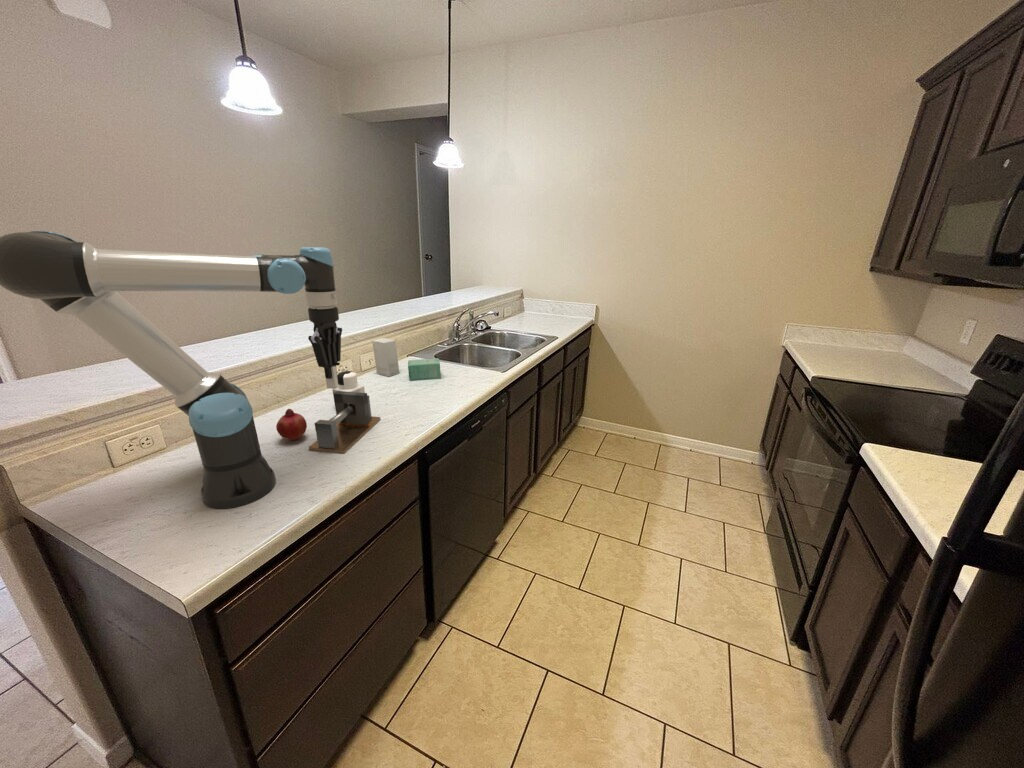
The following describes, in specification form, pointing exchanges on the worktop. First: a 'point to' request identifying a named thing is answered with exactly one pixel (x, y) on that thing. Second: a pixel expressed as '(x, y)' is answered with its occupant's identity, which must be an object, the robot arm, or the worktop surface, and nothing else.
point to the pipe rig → (340, 431)
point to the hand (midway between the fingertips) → (332, 387)
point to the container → (348, 383)
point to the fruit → (291, 425)
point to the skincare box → (386, 356)
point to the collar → (360, 402)
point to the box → (424, 369)
